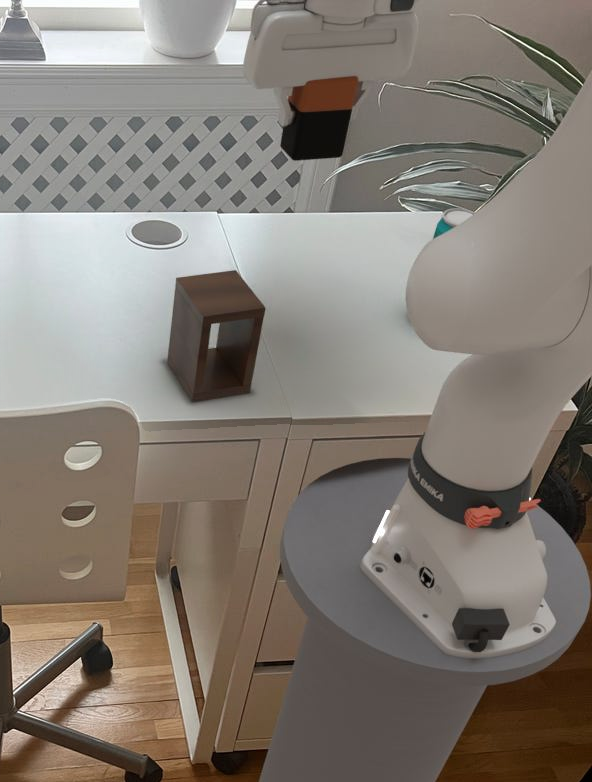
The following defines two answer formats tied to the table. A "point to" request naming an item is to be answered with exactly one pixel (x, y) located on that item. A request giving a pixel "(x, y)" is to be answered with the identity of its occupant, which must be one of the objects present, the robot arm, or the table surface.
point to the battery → (320, 118)
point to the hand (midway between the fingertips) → (317, 121)
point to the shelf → (235, 336)
